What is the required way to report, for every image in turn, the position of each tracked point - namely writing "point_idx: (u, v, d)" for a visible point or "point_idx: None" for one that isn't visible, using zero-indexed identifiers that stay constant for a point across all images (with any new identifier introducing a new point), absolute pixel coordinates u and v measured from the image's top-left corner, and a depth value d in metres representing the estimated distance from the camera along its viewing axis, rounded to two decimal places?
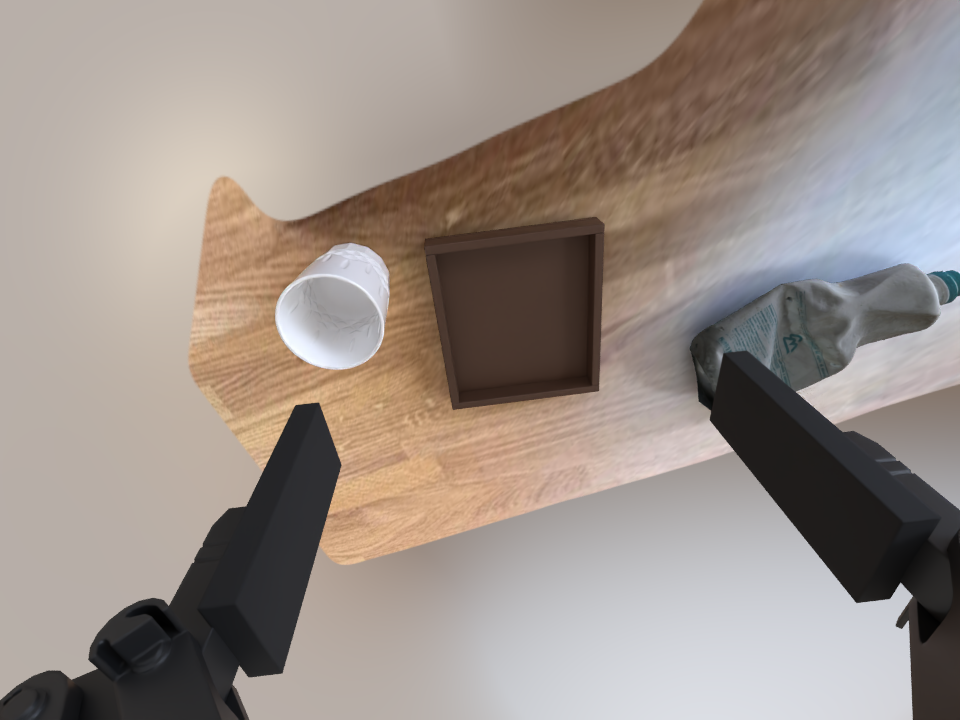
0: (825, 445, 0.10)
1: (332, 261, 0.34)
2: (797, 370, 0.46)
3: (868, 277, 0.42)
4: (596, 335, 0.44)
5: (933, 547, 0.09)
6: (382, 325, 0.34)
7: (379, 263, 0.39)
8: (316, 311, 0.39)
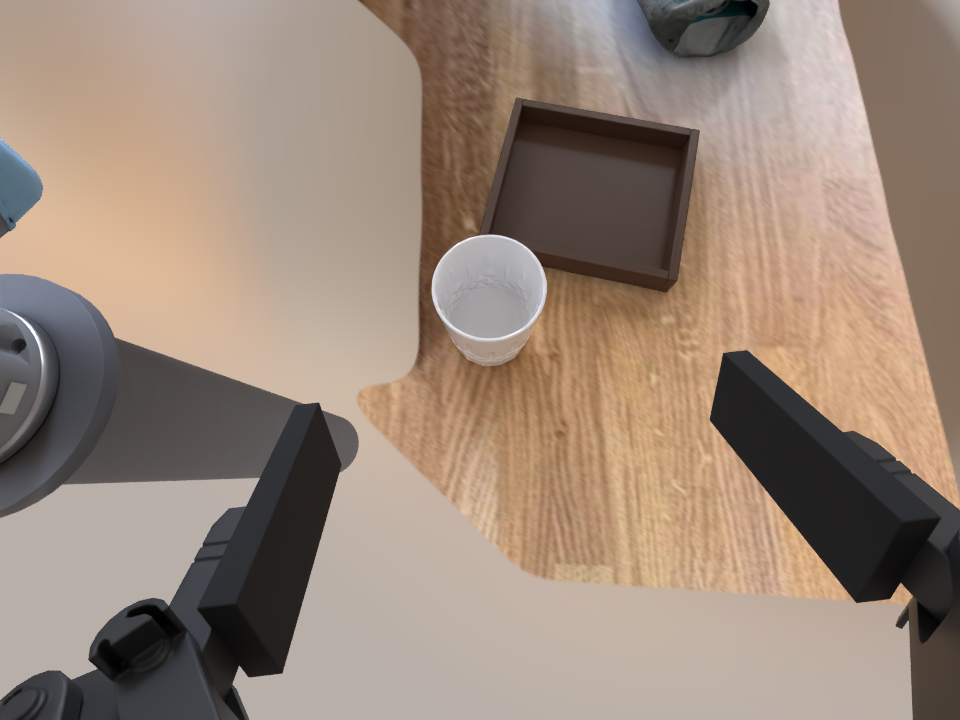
0: (825, 445, 0.10)
1: None
2: None
3: None
4: (627, 121, 0.42)
5: (932, 547, 0.09)
6: (509, 239, 0.31)
7: None
8: None
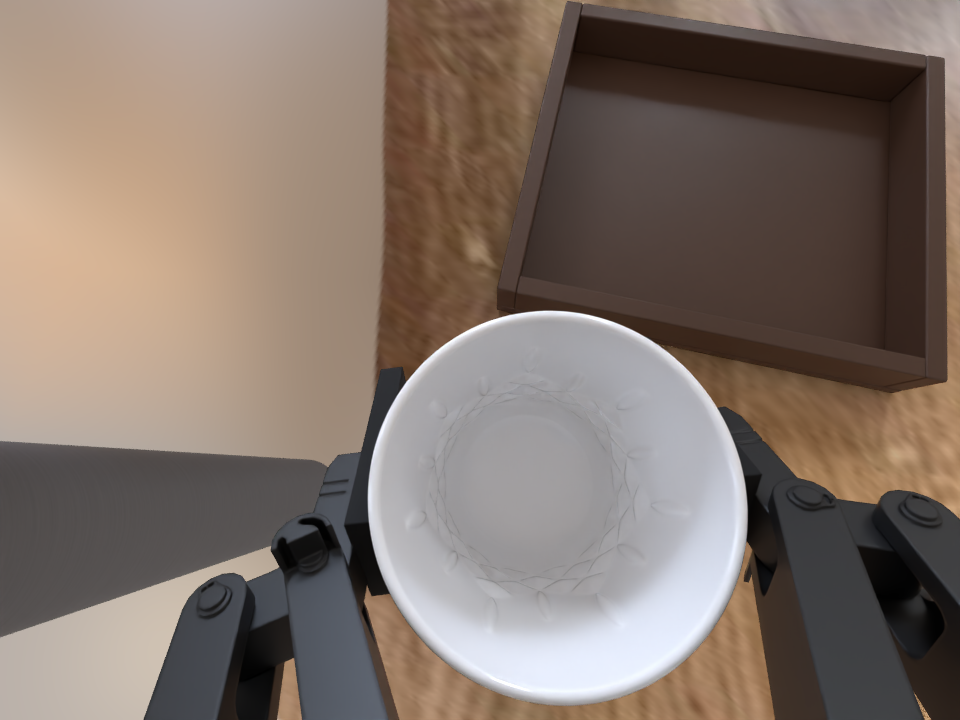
0: None
1: None
2: None
3: None
4: (792, 42, 0.21)
5: (757, 501, 0.10)
6: (612, 325, 0.10)
7: None
8: (551, 583, 0.14)
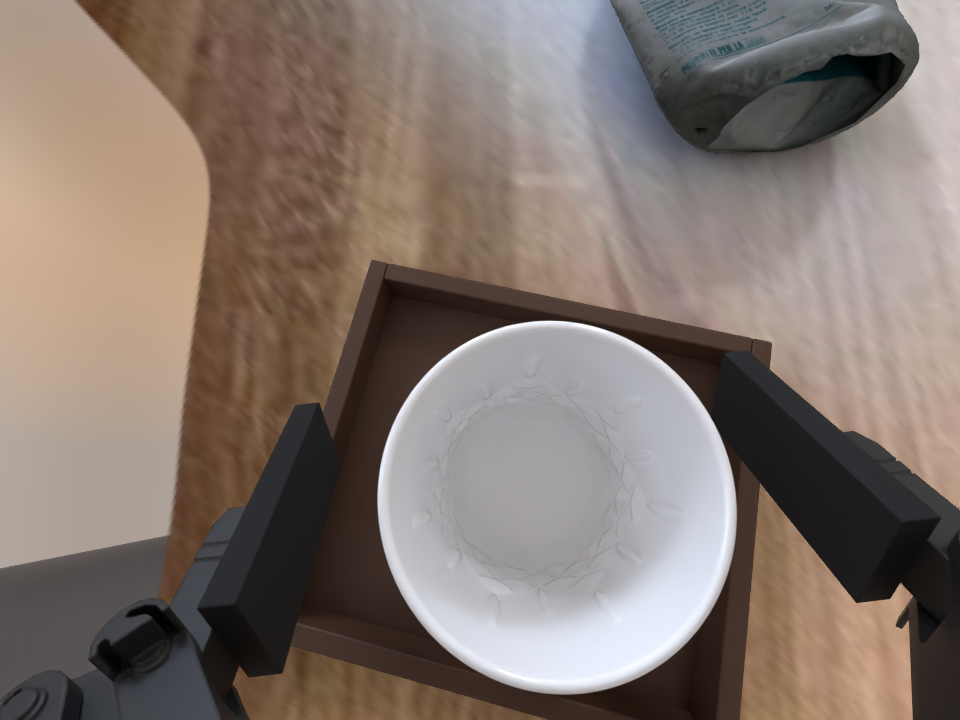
0: (825, 445, 0.10)
1: None
2: None
3: None
4: (609, 318, 0.19)
5: (932, 547, 0.09)
6: (609, 334, 0.11)
7: None
8: (552, 581, 0.15)
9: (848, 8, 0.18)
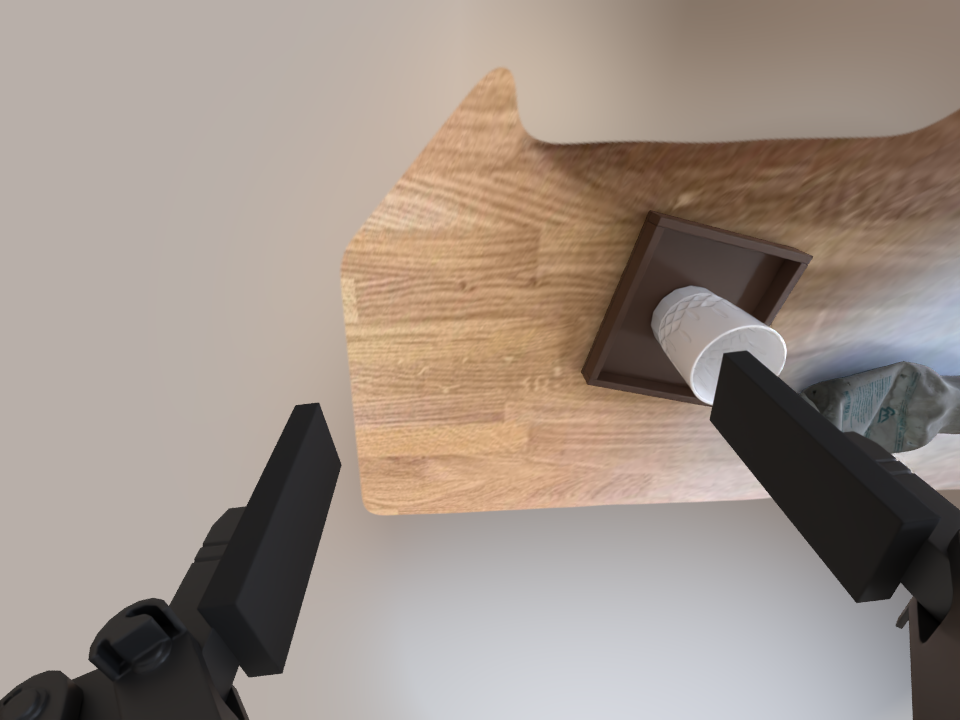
0: (825, 445, 0.10)
1: (744, 312, 0.38)
2: (878, 439, 0.52)
3: None
4: None
5: (932, 547, 0.09)
6: None
7: None
8: None
9: None
